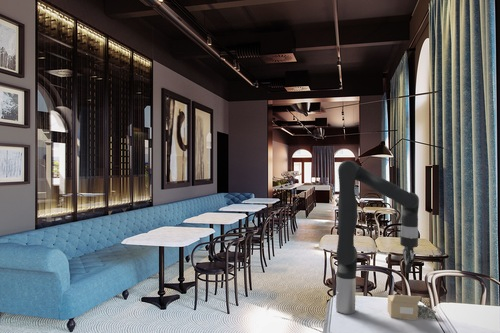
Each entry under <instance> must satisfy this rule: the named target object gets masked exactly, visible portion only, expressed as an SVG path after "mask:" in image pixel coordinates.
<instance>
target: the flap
mask: <svg viewBox="0 0 500 333" xmlns="http://www.w3.org/2000/svg"><path fill="white" fill-rule="evenodd" d="M421 299H422V296H420V295H405V294H394V298H393V300H392V302H394V303H407V304H418V305H419V302H420V301H421Z"/></svg>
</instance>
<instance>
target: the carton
mask: <svg viewBox="0 0 500 333" xmlns="http://www.w3.org/2000/svg"><path fill="white" fill-rule="evenodd" d="M394 295H395V294H394ZM394 295H393V294H391V295H390V294H388V295H387V313H388V314H389V316H390V318H394V319H402V320H403V319H405V320H415V321H418V316H419V315H418V305H419V303H418V304H407V303H394V302H392V300H393V298H394Z"/></svg>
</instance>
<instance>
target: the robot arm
mask: <svg viewBox="0 0 500 333" xmlns="http://www.w3.org/2000/svg"><path fill="white" fill-rule="evenodd" d="M337 173H338V183H339V184H338V185H339V186H338V187H339V188H338V189H339V190H338V191H339V192H338V204H337V205H338V207H337V208H338V209H337V229H338V239H337V240H338V241H337V245H336V247H337V248H336V252H335V253H336V255H335V256H336V259H337V262H338V264H337V270H336V288H335V310H336V313H341V314H345V315H351V314H354V313H355V312H356V290H357V289H356V286H357V285H356V283H357V267H358V250H357V248H356V247H355V244H354V242H355V240H354V238H355V230H356V227H357V221H358V202H357V198H356V197H357V196H356V191H355V186H356V181H357V182H360V183H362V184H364V185H366V186H367V187H370V188H371V189H372V190H374V191H375V192H377V193H378V194H380V195H381V196H382V195H383V196H384V197H386V198H388V199H390V200H393V201H394V202H396V203H397V204H399V205H400V206H402V215H401V226H400V239H399V241H400V242H399V243H400V246H402V247H404V248H403V249H402V254H403V262H404V264H405V267H404V268H405V273H406V274H411V273H412V266H414V262H415V261H416V260H415V259H416V255H415V250H414V248H418V245H419V207H420V198H419V196H418V194H416V193H414V192H411V191H410V192H409V191H407V190H405V189H403V188H402V187H400V186H398V185H397V184H395V183H392V182H391V181H389V180H387V179H384V178H382V177H380V176H378V175H376V174H374V173H372V172H370V171H368V170H366V169H365V168H363V167H362V166H360V165H359V164H358V163H357V162H355V161H353V160H343V161H342V162H341V163H340V164H339V166H338V169H337Z"/></svg>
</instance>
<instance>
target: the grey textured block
mask: <svg viewBox="0 0 500 333" xmlns="http://www.w3.org/2000/svg"><path fill="white" fill-rule="evenodd" d="M436 314H437V311H436V310H435V309H434V310H433V309H432V308H430V307H429V306H427V305H422V304H418V315H417V316H420V315H421V316H420V318H421V319H424V320H428V319H431V320H435V319H436Z"/></svg>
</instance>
